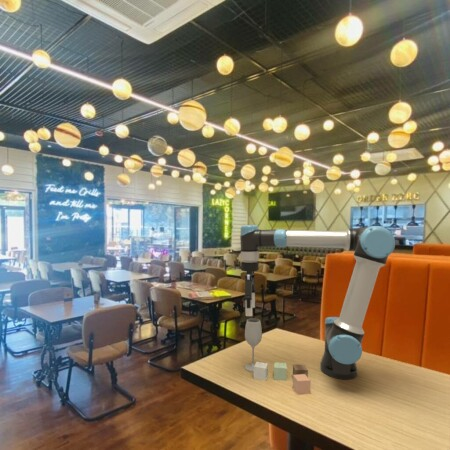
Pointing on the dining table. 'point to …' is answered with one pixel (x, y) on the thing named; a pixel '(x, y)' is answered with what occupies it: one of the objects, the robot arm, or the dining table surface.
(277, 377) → the sage cube
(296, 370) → the walnut cube
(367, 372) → the dining table surface
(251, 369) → the wineglass
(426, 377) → the dining table surface
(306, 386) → the terracotta cube
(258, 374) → the white cube
